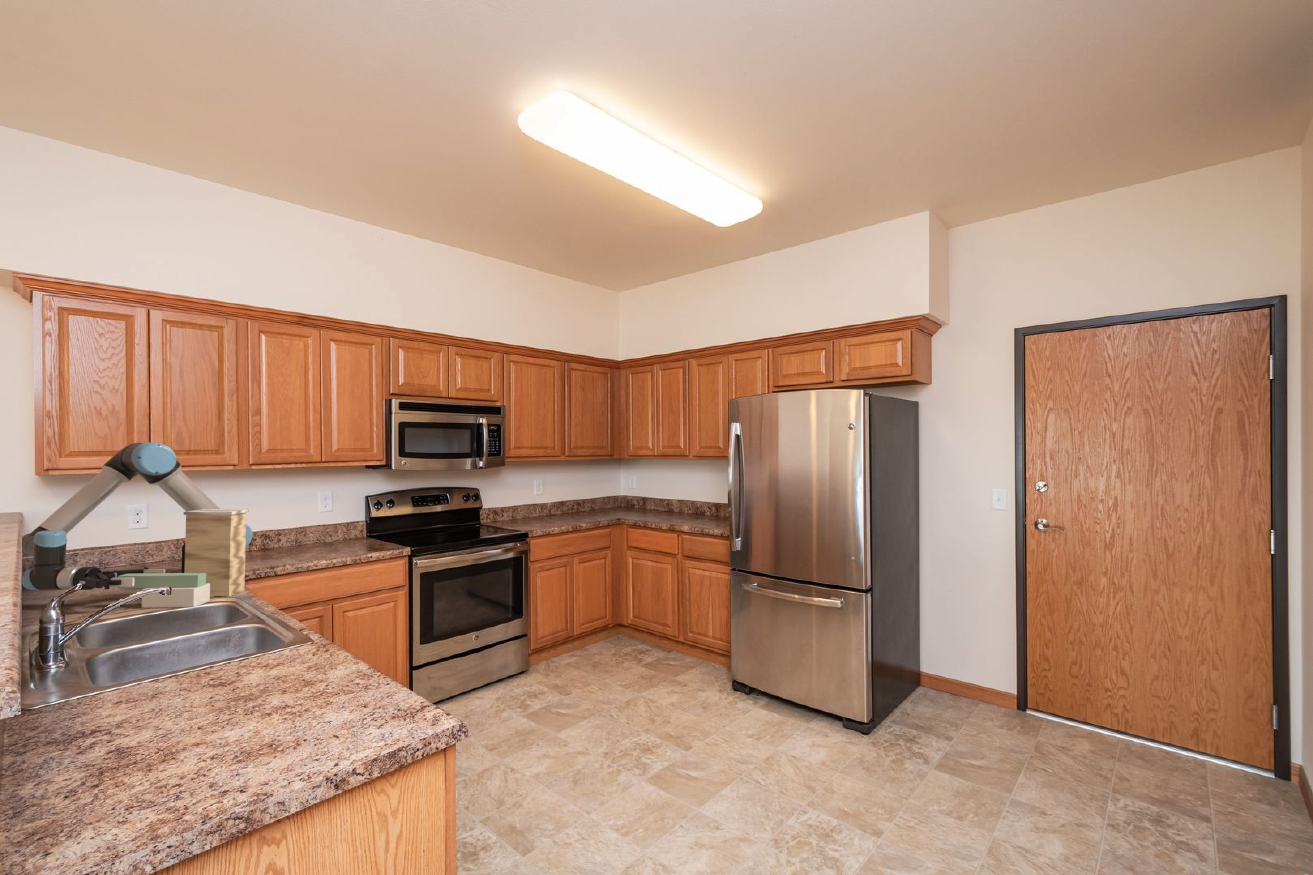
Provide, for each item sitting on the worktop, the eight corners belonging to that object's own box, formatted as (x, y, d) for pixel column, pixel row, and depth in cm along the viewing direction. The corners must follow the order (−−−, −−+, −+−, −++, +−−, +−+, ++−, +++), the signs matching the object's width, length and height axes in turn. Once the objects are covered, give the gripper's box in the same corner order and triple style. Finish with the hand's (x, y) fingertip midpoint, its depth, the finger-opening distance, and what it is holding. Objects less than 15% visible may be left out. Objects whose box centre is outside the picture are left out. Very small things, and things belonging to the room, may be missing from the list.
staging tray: (159, 601, 202) (160, 583, 202) (209, 600, 203) (210, 583, 203) (141, 607, 194) (142, 589, 194) (193, 606, 195) (193, 588, 195)
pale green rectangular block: (127, 585, 199) (127, 573, 199) (205, 584, 201) (206, 572, 201) (117, 588, 195) (117, 576, 195) (197, 587, 197) (197, 575, 197)
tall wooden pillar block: (200, 591, 217) (202, 509, 218) (246, 590, 218) (248, 509, 219) (181, 597, 207) (183, 511, 208) (229, 597, 208) (231, 511, 209)
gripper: (111, 581, 208) (175, 580, 210) (45, 598, 184) (118, 597, 186) (112, 560, 209) (176, 559, 210) (45, 574, 184) (119, 573, 186)
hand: (149, 577), depth 198 cm, fingers open, 13 cm apart
